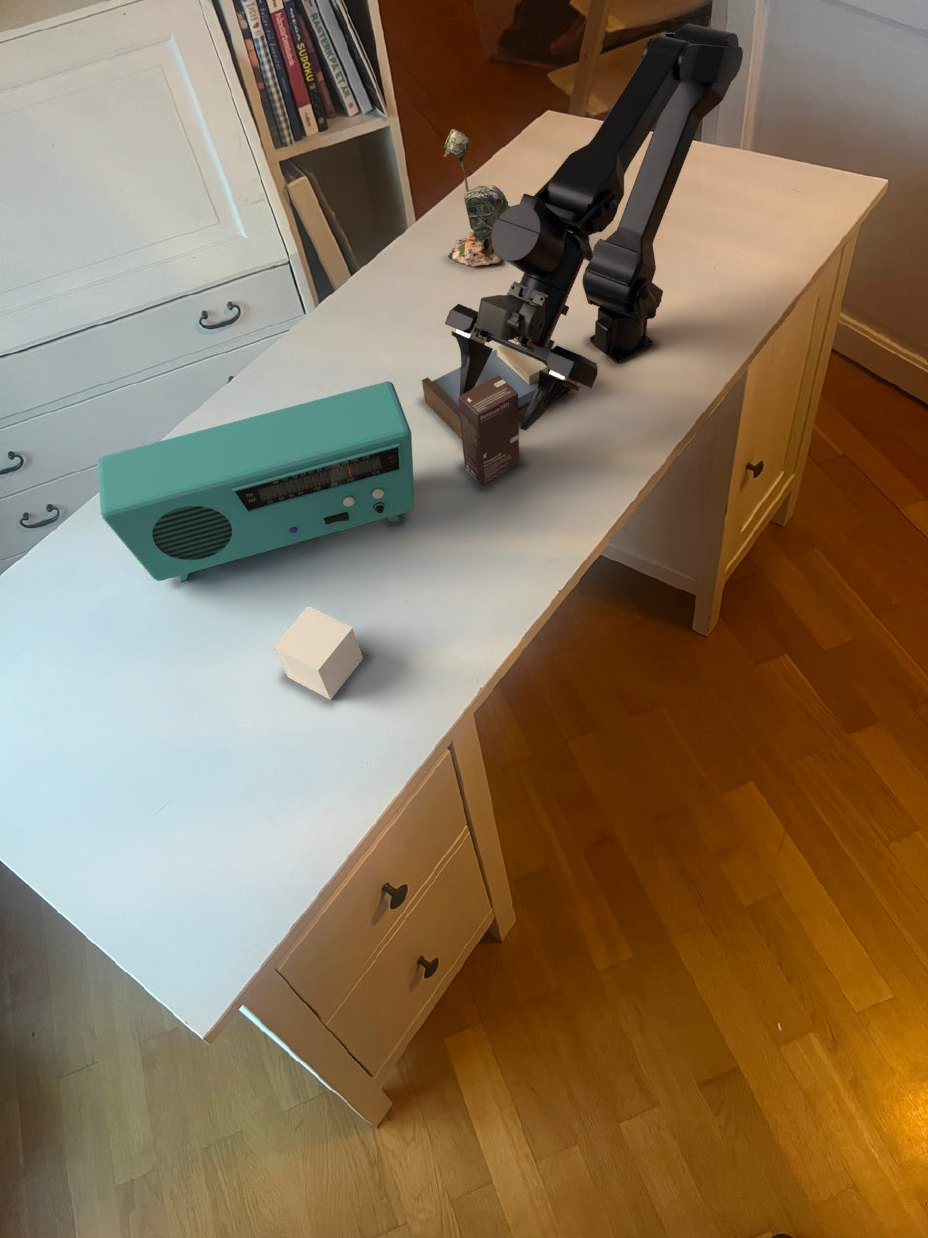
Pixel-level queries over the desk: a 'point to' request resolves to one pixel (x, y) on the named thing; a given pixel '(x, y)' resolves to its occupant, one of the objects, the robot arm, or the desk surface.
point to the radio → (260, 482)
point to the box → (489, 429)
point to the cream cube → (318, 652)
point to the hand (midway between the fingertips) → (492, 414)
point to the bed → (450, 406)
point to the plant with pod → (476, 212)
